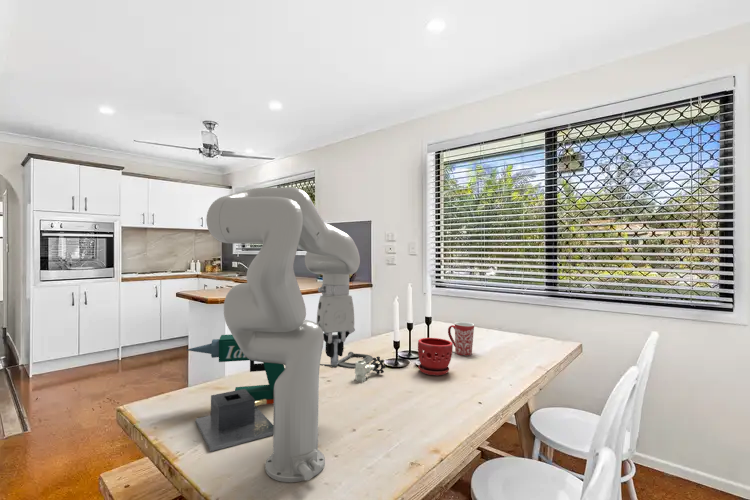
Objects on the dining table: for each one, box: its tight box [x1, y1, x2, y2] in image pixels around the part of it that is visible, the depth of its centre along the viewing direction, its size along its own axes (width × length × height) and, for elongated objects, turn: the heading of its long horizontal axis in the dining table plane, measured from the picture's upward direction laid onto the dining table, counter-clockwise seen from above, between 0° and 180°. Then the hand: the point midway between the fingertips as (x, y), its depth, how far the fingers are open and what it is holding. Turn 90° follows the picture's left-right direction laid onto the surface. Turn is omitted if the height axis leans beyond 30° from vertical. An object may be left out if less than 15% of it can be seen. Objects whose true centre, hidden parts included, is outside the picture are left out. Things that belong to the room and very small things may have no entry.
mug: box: [447, 321, 475, 356], centre depth 178 cm, size 13×9×14 cm
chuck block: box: [195, 389, 273, 453], centre depth 102 cm, size 18×17×7 cm
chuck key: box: [329, 334, 341, 365], centre depth 111 cm, size 6×2×8 cm, turn 32°
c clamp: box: [320, 351, 374, 369], centre depth 162 cm, size 20×17×3 cm
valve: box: [354, 356, 386, 383], centre depth 143 cm, size 7×7×12 cm
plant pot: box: [417, 337, 454, 376], centre depth 150 cm, size 13×13×12 cm
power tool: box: [186, 334, 285, 405], centre depth 118 cm, size 32×7×20 cm, turn 105°
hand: (334, 355), depth 111 cm, fingers closed on chuck key, 2 cm apart
